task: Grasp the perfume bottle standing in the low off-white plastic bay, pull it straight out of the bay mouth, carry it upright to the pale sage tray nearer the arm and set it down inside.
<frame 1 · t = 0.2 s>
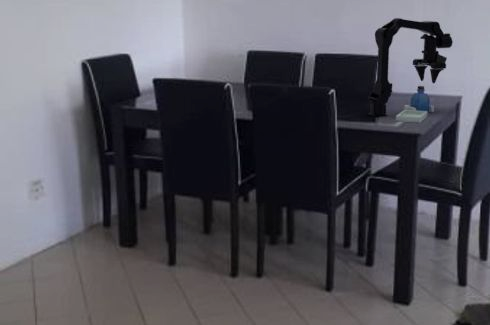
hand: (427, 82, 308), 14 cm above the table, fingers open, 9 cm apart
bay: (419, 111, 311), on the table
perfume bottle: (419, 112, 311), on the table
tray: (411, 118, 294), on the table
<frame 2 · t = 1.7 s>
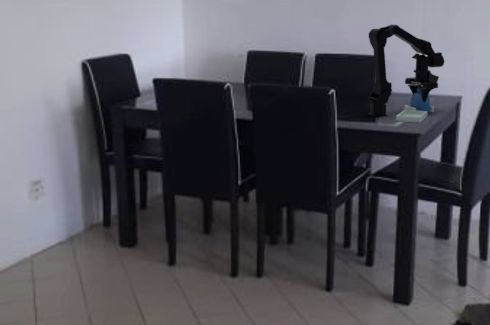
hand: (420, 101, 309), 5 cm above the table, fingers closed on perfume bottle, 6 cm apart
perfume bottle: (419, 111, 311), on the table, touching gripper
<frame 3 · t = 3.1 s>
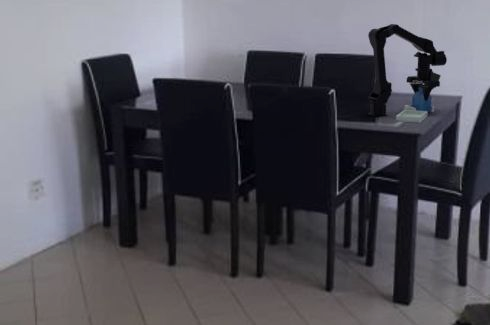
hand: (421, 99, 308), 6 cm above the table, fingers closed on perfume bottle, 6 cm apart
perfume bottle: (421, 110, 309), point 1 cm above the table, touching gripper
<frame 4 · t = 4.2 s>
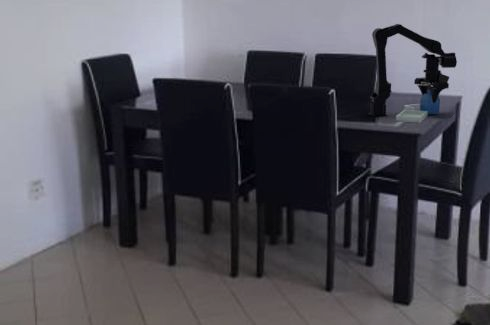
hand: (430, 101, 302), 6 cm above the table, fingers closed on perfume bottle, 6 cm apart
perfume bottle: (429, 112, 303), point 1 cm above the table, touching gripper
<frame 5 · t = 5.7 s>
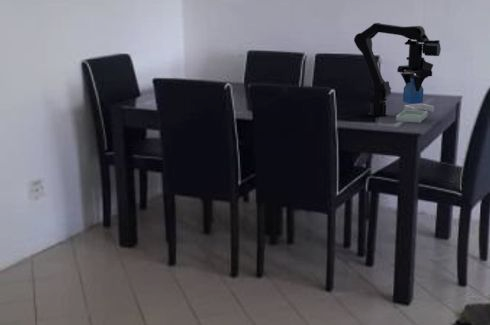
hand: (413, 90, 291), 13 cm above the table, fingers closed on perfume bottle, 6 cm apart
perfume bottle: (412, 102, 293), point 7 cm above the table, touching gripper
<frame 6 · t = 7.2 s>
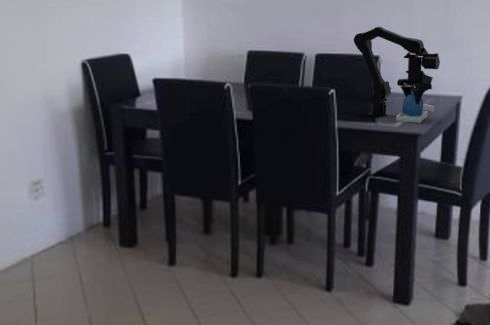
hand: (413, 103, 292), 7 cm above the table, fingers closed on perfume bottle, 6 cm apart
perfume bottle: (411, 114, 294), point 2 cm above the table, touching gripper, tray
when the fingers open (7 cm above the table, at t = 7.3 s): perfume bottle stays where it is, resting on tray.
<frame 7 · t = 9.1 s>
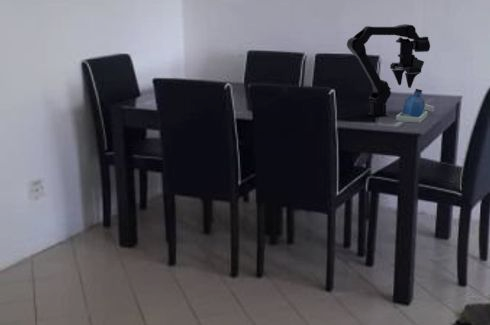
hand: (404, 86, 302), 13 cm above the table, fingers open, 9 cm apart
perfume bottle: (411, 115, 294), point 1 cm above the table, touching tray
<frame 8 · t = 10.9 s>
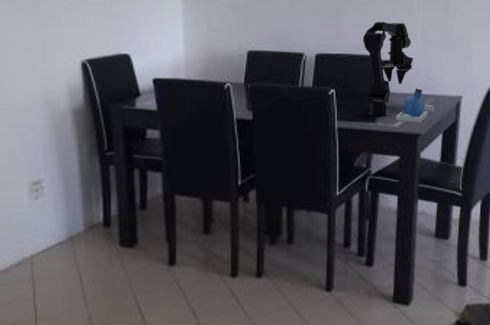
hand: (394, 82, 314), 13 cm above the table, fingers open, 9 cm apart
nothing on the table moved.
at the end: perfume bottle inside the target area on the tray (0.2 cm from its centre), point 1.3 cm above the tray's base; perfume bottle tilted 16°; the gripper is holding nothing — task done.
